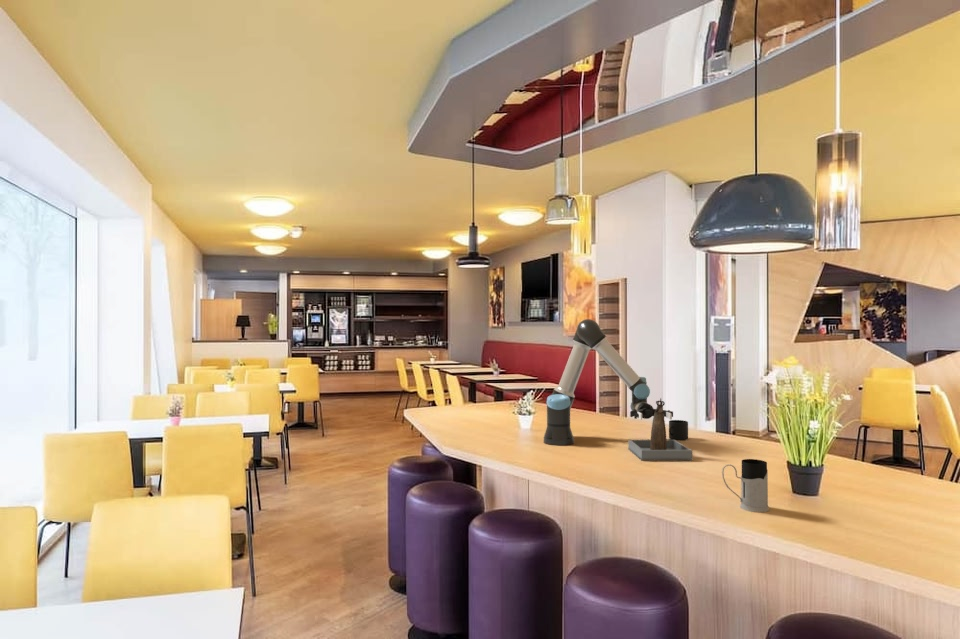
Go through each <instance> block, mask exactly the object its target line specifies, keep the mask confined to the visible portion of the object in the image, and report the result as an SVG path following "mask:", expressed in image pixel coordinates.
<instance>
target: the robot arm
mask: <svg viewBox="0 0 960 639" xmlns="http://www.w3.org/2000/svg"><path fill="white" fill-rule="evenodd" d="M572 341H573V346H572V349H571V352H570V354H569V357H568V360H567V362H566V365H565V367H564V370H563V372H562V376H561V377H560V379H559V383H558V386H557V387H555V388H553V391H552V393H551V394H550V395H549V396H547V398H546V428H545V432H544V435H543V443H544V444H546V445H547V444H548V445H552V446H566V445H567V446H568V445H569V446H570V445H573V444H574V443H575V440H574V439H575V438H574V435H573V431H572V429H571V409H572V405H573V403H574V400H575V398H576V396H575V393H574V392H575V390H576V387H577V385H578V382H579V379H580V376H581V375H582V371H583V369H584V366H585V364H586V360H587V358H588V355H589V353H590V350H595V352H596V353H597V354H598V355H599V356H600V357H601V358H602V360H603V361H604V362H605V363H606V364H607V365H608V366H609V367H610V368H611V370H613V372H614V373H615V374H616V375H617V377H619V379H620V380H621V381H622V382H623V383H624V384H625V385H626V386H627V388H628V389H629V390H630V392H631V402H630V406H629V408H630V410H631V411H630V412H629V413H630V414H629V415H630V418H633V417H634V420H635V419H639V420H643V419H644V420H645V419H646V420H647V419H650V418H652V417H654V413H655V411H656V408H654V407H653V405H651V404H650V403H648V398H649V397H650V394H651V389H650V387H649V386H648V384H647V383H648V382H647V378H646V376H645V377H644V376H639V375H638V374H637V373H636V371H635V370H634V369H633V368H632V367H631V366H630V365H629V363H628V362H627V361H626V360H625V359H624V358H623V356H621V354H620V353H619V352H618V351H617V350H616V349H615V348H614V346H613V345H612V344H611V343H610V342H609V341H608V339H607V335H606V334H605V333H604V332H603V330H602V329H601V327H600V325H599V323H597V321H595V320H593V319H589V318H586V319H582V321H580V322H579V323H578V324H577V327H576V330H575V333H574V335H573V338H572ZM662 413H663V414H664V418H666V419H668V420H669V421H670V420H673V418H674V411H671V410H669V409H668V410H665V409H663V411H662Z"/></svg>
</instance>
